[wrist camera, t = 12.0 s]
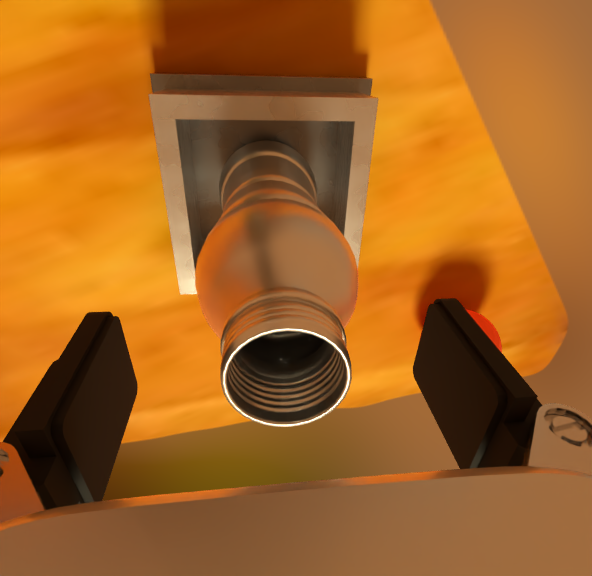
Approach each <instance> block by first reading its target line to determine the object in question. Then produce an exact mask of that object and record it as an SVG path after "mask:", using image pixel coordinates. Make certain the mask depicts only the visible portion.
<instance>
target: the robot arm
mask: <svg viewBox="0 0 592 576" xmlns="http://www.w3.org/2000/svg"><path fill="white" fill-rule="evenodd" d="M413 374H414V378H415V380H416V382H417V384H418V386H419V388H420V390H421V392H422V394H423V396H424V398H425V400H426V402H427V404H428V406H429V408H430V410H431V412H432V414H433V416H434V417H435V420H436V422H437V424H438V426H439V428H440V430H441V432H442V434H443V436H444V438H445V440H446V442H447V444H448V446H449V448H450V450H451V452H452V454H453V455H454V458H455V460H456V461H457V463H458V466H459V468H460V469H456V470H441V471H429V472H417V473H404V474H392V475H380V476H367V477H355V478H343V479H332V480H321V481H308V482H297V483H286V484H274V485H263V486H251V487H240V488H230V489H218V490H207V491H196V492H187V493H186V492H185V493H175V494H165V495H153V496H144V497H136V498H126V499H116V500H108V501H102V499H103V496H104V493H105V490H106V487H107V484H108V481H109V478H110V475H111V472H112V469H113V465H114V463H115V459H116V456H117V453H118V450H119V447H120V444H121V441H122V438H123V435H124V432H125V429H126V426H127V423H128V420H129V417H130V414H131V411H132V407H133V404H134V401H135V398H136V395H137V381H136V377H135V373H134V370H133V366H132V362H131V359H130V355H129V352H128V348H127V344H126V341H125V337H124V333H123V330H122V326H121V323H120V320H119V318H118V317H117V316H113V315H112V313H111V312H89V313H87V314H86V316H85V317H84V319H83V320H82V322H81V324H80V325H79V327H78V329H77V330H76V332H75V333H74V335H73V337H72V338H71V340H70V342H69V343H68V345H67V346H66V348H65V350H64V351H63V353H62V355H61V356H60V358H59V359H58V360H56V361H54V362H53V363H52V365H51V366H50V367H49V369H48V370H47V372H46V374H45V375H44V377H43V378H42V380H41V382H40V383H39V385H38V386H37V388H36V390H35V391H34V393H33V394H32V396H31V398H30V399H29V401H28V402H27V404H26V405H25V407H24V409H23V410H22V412H21V413H20V415H19V417H18V418H17V420H16V421H15V423H14V425H13V426H12V428H11V429H10V431H9V433H8V434H7V436H6V437H5V439H4V440H3V442H0V576H592V419H591V418H590V417H588V416H587V415H586V414H584V413H583V412H581V411H579V410H577V409H574V408H572V407H569V406H566V405H563V404H556V403H550V404H545V405H543V406H542V404H541V403H540V402H539V401H538V400H537V395H536V394H535V393H534V391H533V390H532V389H531V388H530V387H529V385H528V384H527V383H526V382H525V381H524V379H523V378H522V377H521V376H520V374H519V373H518V372H517V371H516V370H515V368H514V367H513V366H512V365H511V364H510V362H509V361H508V360H507V359H506V358H505V356H504V355H503V354H502V353H501V352H500V350H499V349H498V348H497V347H496V346H495V344H494V343H493V342H492V341H491V340H490V338H489V337H488V336H487V335H486V334H485V332H484V331H483V330H482V329H481V328H480V326H479V325H478V324H477V323H476V321H475V320H474V319H473V318H472V317H471V315H470V314H469V313H468V312H467V311H466V309H465V308H464V307H463V306H462V305H461V303H460V302H459V301H458V300H457V299H455V298H450V299H436V300H435V301H434V304H430V305H429V307H428V311H427V315H426V319H425V323H424V326H423V330H422V334H421V338H420V342H419V346H418V350H417V354H416V358H415V362H414V365H413Z"/></svg>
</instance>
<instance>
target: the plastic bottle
mask: <svg viewBox="0 0 592 576" xmlns="http://www.w3.org/2000/svg"><path fill="white" fill-rule="evenodd" d="M219 197H220V203H221V208H222V211H223V213H222V215H221V218H220V219H219V220H218V222H217V223H216V225H215V226H214V227H213V229H212V230H211V231H210V233H209V234H208V236H207V238H206V241H205V243H204V245H203V247H202V249H201V252H200V254H199V256H198V260H197V265H196V270H195V287H196V291H197V295H198V298H199V302H200V305H201V309H202V312H203V314H204V316H205V318H206V320H207V322H208V324H209V326H210V327H211V328H212V329H213V331H214V332H215V333H216V335H217V336H218V337H219V338H221V355H222V362H221V385H222V388H223V392H224V395H225V397H226V398H227V400H228V402H229V403H230V404H231V405H232V407H233V408H234V409H235V410H236V411H238V412H239V413H240V414H242V415H243V416H244V417H246V418H248V419H250V420H252V421H254V422H258V423H261V424H264V425H270V426H276V427H290V426H298V425H303V424H307V423H311V422H313V421H315V420H318V419H320V418H322V417H324V416H325V415H327V414H328V413H330V412H331V411H332V410H334V409H335V408H336V407H337V406H338V405H339V404H340V403H341V401H342V400H343V399H344V398H345V396H346V394H347V392H348V390H349V387H350V383H351V379H352V377H351V362H350V358H349V354H348V351H347V348H346V335H345V332H344V328H345V327H346V325H347V324H348V322H349V321H350V318H351V316H352V314H353V312H354V309H355V304H356V300H357V292H358V268H357V264H356V259H355V256H354V253H353V251H352V249H351V247H350V245H349V243H348V241H347V240H346V239H345V237H344V236H343V234H342V233H341V232H340V230H339V229H338V228H337V226H336V225H335V224H334V223H333V222H332V221H331V220H330V219H329V218H328V217H327V216H326V215H325V214H324V213H323V212H322V211H321V210H320V209H319V208H318V206H317V187H316V181H315V177H314V174H313V172H312V170H311V168H310V166H309V164H308V163H307V162H306V160H305V159H304V157H302V156H301V155H300V154H299V153H298V152H297V151H296V150H294V149H293V148H291V147H289V146H288V145H285V144H282V143H280V142H276V141H268V140H264V141H256V142H253V143H249V144H247V145H245V146H243V147H241V148H240V149H238V150H237V151H236V152H235V153H234V154H232V155H231V156H230V158H229V159H228V161H227V162H226V163H225V165H224V168H223V170H222V172H221V176H220V181H219Z"/></svg>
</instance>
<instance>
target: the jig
mask: <svg viewBox="0 0 592 576" xmlns="http://www.w3.org/2000/svg"><path fill="white" fill-rule="evenodd" d="M150 77H151V83H152V90H153V93H151V94H149V100H150V106H151V112H152V119H153V125H154V131H155V138H156V144H157V150H158V157H159V163H160V169H161V176H162V182H163V188H164V195H165V201H166V207H167V214H168V220H169V226H170V233H171V239H172V245H173V252H174V258H175V264H176V271H177V277H178V283H179V290H180V294H197V291H196V287H195V270H196V265H197V260H198V256H199V254H200V252H201V249H202V247H203V245H204V243H205V241H206V238H207V236H208V234H209V233H210V231H211V230H212V229H213V227H214V226H215V225H216V223H217V222H218V220H219V219H220V218H221V215H222V213H223V211H222V208H221V203H220V197H219V181H220V176H221V172H222V170H223V168H224V165H225V163H226V162H227V161H228V159H229V158H230V156H231V155H232V154H234V153H235V152H236V151H237V150H238V149H240V148H241V147H243V146H245V145H247V144H249V143H253V142H256V141H264V140H268V141H276V142H280V143H282V144H285V145H288V146H289V147H291V148H293V149H294V150H296V151H297V152H298V153H299V154H300V155H301V156H302V157H304V159H305V160H306V162H307V163H308V164H309V166H310V168H311V170H312V172H313V174H314V177H315V181H316V187H317V206H318V208H319V209H320V210H321V211H322V212H323V213H324V214H325V215H326V216H327V217H328V218H329V219H330V220H331V221H332V222H333V223H334V224H335V225H336V226H337V228H338V229H339V230H340V232H341V233H342V234H343V236H344V237H345V239H346V240H347V241H348V243H349V245H350V247H351V249H352V251H353V253H354V256H355V259H356V264H357V268H358V262H359V254H360V245H361V237H362V229H363V221H364V212H365V204H366V196H367V187H368V179H369V171H370V162H371V154H372V146H373V138H374V129H375V121H376V113H377V104H378V98H376V97H373V96H370V95H371V86H372V79H371V78H353V77H309V76H265V75H221V74H177V73H152V74H150Z"/></svg>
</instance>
